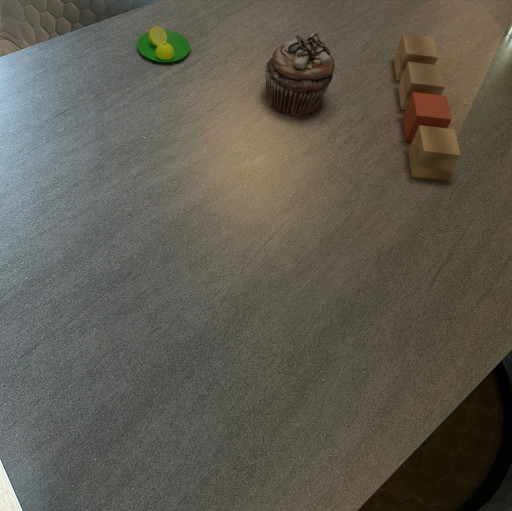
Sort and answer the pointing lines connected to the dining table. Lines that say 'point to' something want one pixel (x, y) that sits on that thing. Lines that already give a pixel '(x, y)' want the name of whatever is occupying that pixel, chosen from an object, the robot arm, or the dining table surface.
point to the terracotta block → (425, 113)
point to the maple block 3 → (433, 153)
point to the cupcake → (298, 75)
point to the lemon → (163, 45)
